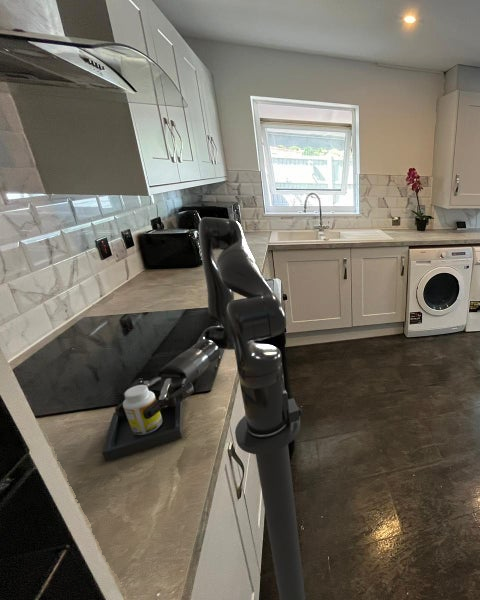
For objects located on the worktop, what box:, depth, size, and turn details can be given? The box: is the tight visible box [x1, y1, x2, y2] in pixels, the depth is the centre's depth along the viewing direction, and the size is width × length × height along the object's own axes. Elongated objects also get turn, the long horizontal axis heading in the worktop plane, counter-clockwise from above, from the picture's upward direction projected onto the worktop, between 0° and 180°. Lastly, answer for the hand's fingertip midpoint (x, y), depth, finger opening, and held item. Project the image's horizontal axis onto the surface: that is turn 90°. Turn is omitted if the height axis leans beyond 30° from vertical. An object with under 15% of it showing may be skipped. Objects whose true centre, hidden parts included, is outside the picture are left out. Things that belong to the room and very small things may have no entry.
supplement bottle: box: [122, 385, 162, 435], centre depth 71 cm, size 6×6×10 cm
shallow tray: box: [101, 396, 184, 463], centre depth 73 cm, size 13×13×2 cm
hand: (131, 414), depth 68 cm, fingers closed on supplement bottle, 5 cm apart
